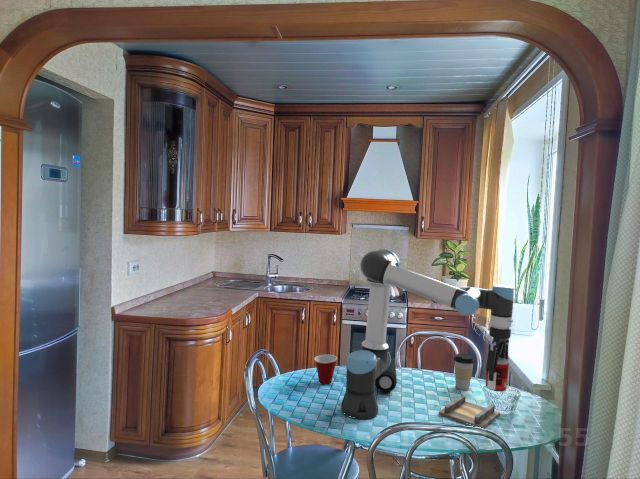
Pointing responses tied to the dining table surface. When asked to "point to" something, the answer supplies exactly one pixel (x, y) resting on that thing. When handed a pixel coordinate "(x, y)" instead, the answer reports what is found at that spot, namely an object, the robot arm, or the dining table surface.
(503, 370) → the canned food
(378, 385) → the portable speaker
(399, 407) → the dining table surface
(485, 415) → the dock board
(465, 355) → the coffee cup
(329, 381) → the plastic cup
